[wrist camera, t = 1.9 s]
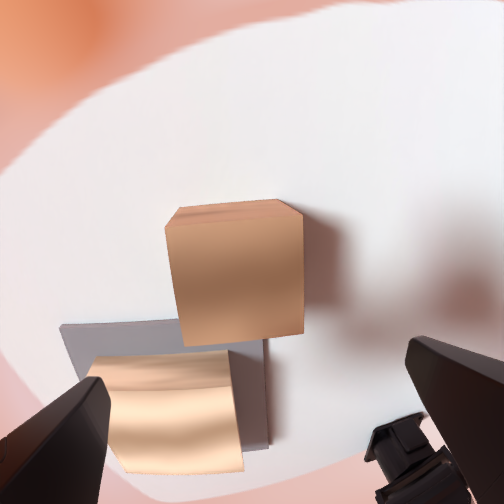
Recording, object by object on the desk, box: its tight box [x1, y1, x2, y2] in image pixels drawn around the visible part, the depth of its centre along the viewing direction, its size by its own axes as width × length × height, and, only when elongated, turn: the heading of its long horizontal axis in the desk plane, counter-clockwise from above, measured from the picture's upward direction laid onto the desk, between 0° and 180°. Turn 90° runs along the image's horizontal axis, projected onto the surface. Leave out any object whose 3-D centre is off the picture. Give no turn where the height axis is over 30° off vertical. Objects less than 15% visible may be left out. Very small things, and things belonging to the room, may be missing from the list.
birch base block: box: [86, 350, 244, 475], centre depth 20 cm, size 10×10×4 cm
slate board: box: [59, 319, 269, 452], centre depth 22 cm, size 15×15×1 cm
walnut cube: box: [165, 199, 304, 347], centre depth 17 cm, size 6×6×6 cm
